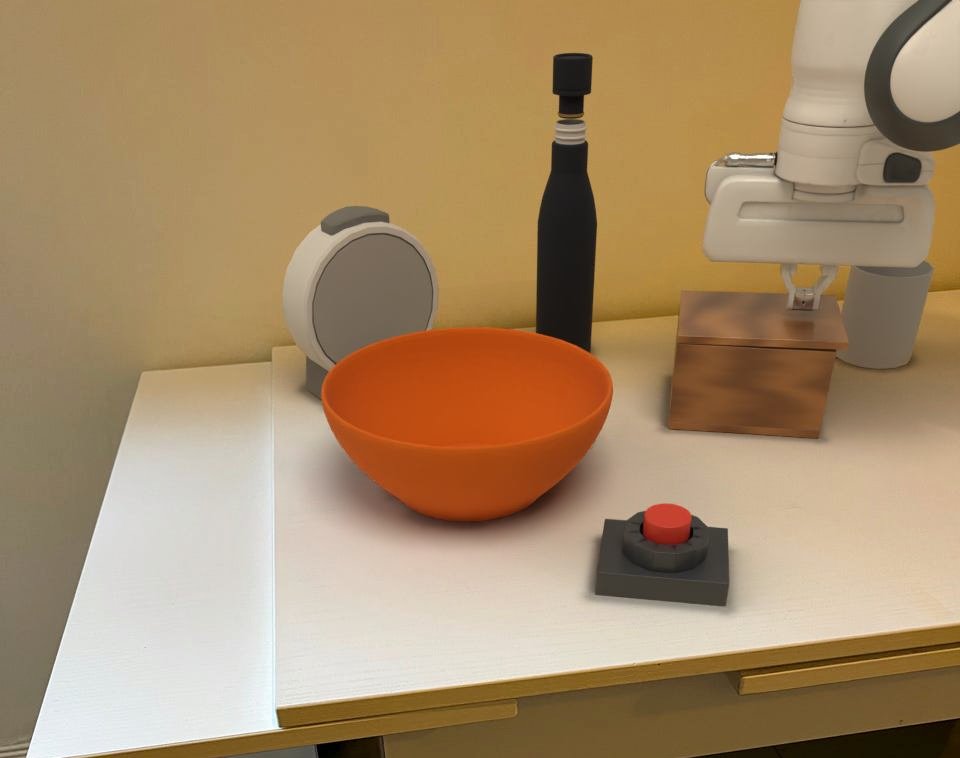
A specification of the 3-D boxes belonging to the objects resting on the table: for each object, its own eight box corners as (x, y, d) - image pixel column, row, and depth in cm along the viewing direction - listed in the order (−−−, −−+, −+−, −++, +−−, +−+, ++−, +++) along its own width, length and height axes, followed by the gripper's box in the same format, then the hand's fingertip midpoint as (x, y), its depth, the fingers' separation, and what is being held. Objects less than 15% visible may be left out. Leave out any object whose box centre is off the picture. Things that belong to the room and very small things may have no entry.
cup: (899, 374, 109) (923, 282, 103) (824, 360, 112) (843, 270, 106) (917, 348, 114) (940, 259, 108) (845, 335, 118) (864, 248, 112)
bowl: (305, 449, 98) (291, 350, 91) (539, 405, 104) (541, 311, 98) (377, 584, 79) (366, 473, 73) (656, 521, 86) (667, 414, 80)
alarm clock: (407, 352, 116) (396, 185, 105) (456, 380, 110) (450, 206, 98) (282, 387, 109) (257, 213, 98) (327, 420, 102) (305, 237, 91)
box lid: (834, 302, 101) (835, 294, 101) (847, 350, 92) (849, 341, 91) (680, 297, 104) (681, 289, 103) (677, 343, 94) (678, 335, 94)
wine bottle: (524, 352, 116) (526, 56, 97) (560, 336, 119) (569, 48, 101) (565, 367, 112) (576, 63, 93) (601, 350, 116) (619, 54, 97)
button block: (724, 550, 82) (731, 508, 80) (725, 607, 76) (732, 563, 73) (603, 540, 84) (606, 499, 81) (594, 595, 77) (597, 552, 75)
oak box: (808, 385, 107) (824, 304, 102) (818, 438, 97) (836, 352, 92) (671, 377, 109) (680, 298, 104) (668, 428, 100) (677, 344, 94)
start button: (689, 524, 79) (692, 504, 78) (688, 548, 76) (691, 529, 75) (643, 520, 79) (645, 501, 78) (641, 544, 76) (643, 525, 75)
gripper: (708, 160, 87) (691, 316, 95) (955, 163, 84) (915, 324, 92) (708, 144, 92) (692, 293, 100) (942, 146, 89) (905, 301, 97)
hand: (801, 308), depth 96 cm, fingers closed
